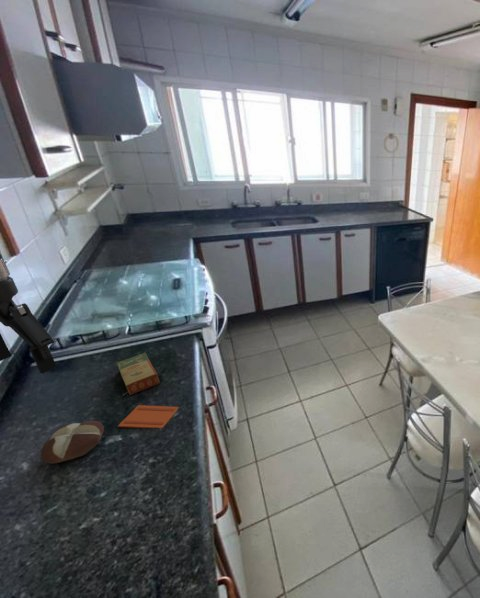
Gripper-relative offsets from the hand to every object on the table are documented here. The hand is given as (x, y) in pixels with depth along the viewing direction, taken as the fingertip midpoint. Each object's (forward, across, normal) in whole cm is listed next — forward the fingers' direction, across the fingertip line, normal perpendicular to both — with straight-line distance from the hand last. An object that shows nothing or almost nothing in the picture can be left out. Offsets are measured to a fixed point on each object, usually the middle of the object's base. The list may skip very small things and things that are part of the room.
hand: (25, 364), depth 77 cm
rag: (+23, -16, -12) cm, 30 cm away
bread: (+23, -8, +1) cm, 24 cm away
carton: (+23, +2, -24) cm, 33 cm away
